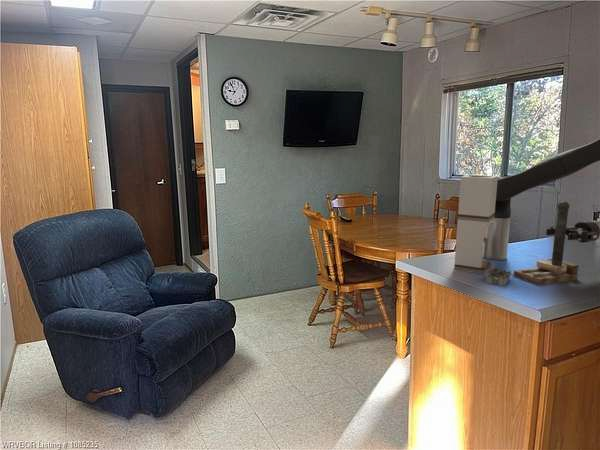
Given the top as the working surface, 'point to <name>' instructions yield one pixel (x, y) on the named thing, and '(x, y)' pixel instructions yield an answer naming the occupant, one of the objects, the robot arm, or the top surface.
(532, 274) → the press base
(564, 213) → the knob-topped lever
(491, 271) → the egg carton
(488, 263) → the display case
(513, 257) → the top surface
